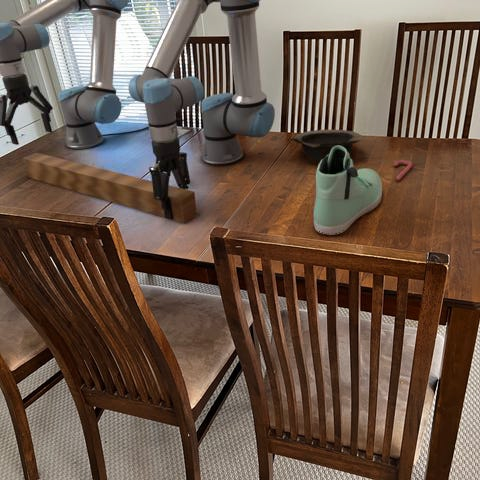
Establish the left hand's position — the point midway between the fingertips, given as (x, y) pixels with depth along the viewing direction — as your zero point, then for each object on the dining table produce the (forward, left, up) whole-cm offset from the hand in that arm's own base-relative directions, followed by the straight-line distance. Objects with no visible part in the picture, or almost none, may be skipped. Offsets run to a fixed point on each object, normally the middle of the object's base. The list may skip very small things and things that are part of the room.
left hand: (32, 137), depth 168 cm
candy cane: (-88, +89, -15) cm, 126 cm away
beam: (-10, +30, -15) cm, 35 cm away
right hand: (-20, +60, -14) cm, 65 cm away
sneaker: (-58, +94, -15) cm, 111 cm away
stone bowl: (-84, +61, -15) cm, 104 cm away
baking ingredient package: (-56, -3, -15) cm, 59 cm away
